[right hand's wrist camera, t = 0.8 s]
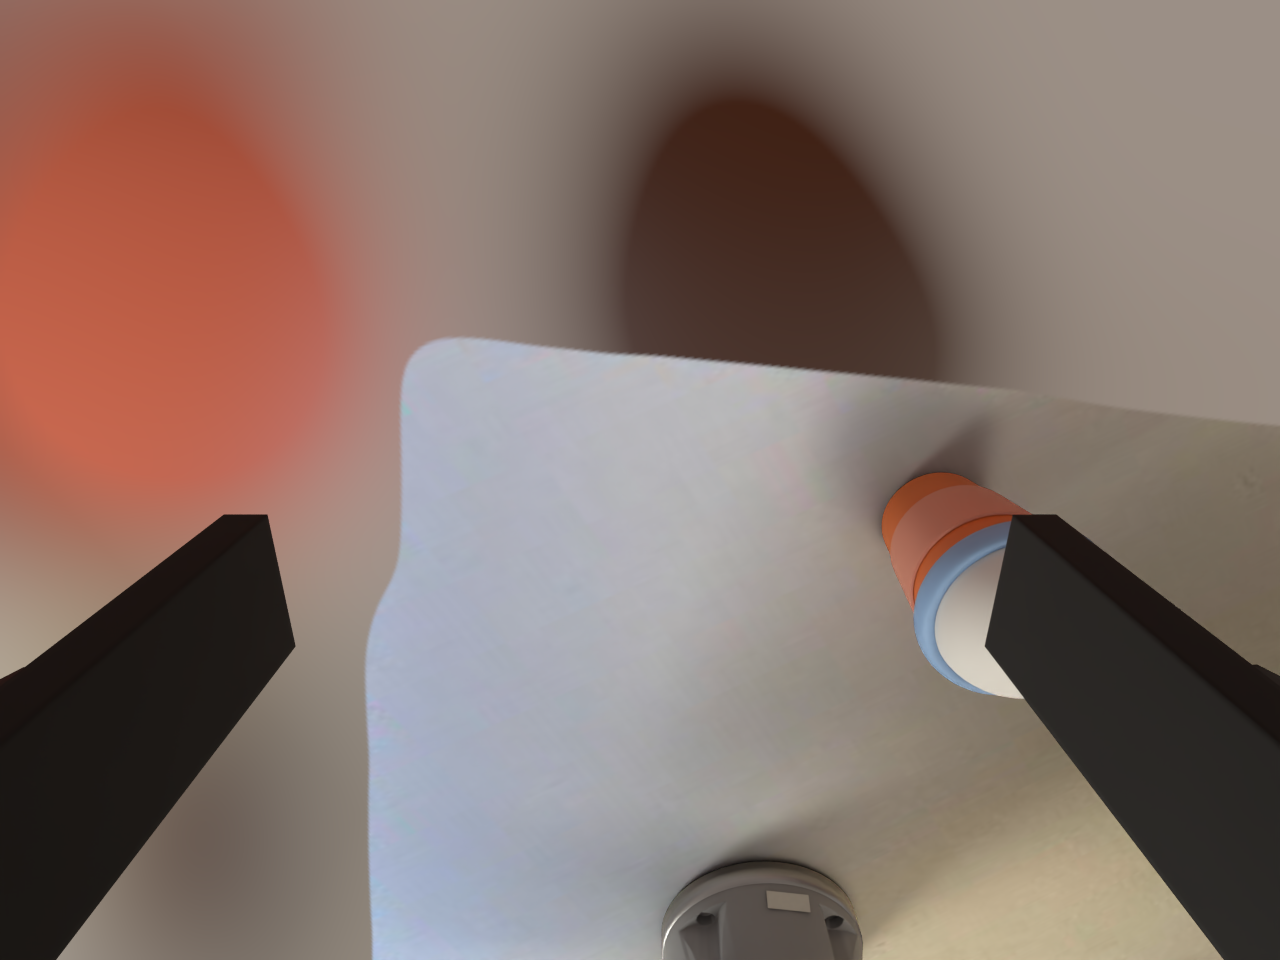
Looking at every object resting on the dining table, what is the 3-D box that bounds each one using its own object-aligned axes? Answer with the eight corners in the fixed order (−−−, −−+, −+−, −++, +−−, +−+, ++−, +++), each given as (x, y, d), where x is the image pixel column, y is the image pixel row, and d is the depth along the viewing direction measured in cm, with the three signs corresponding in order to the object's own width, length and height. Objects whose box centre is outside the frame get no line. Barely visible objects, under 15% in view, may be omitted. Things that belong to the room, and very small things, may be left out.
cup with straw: (1006, 431, 40) (1263, 600, 24) (1013, 568, 44) (1243, 801, 27) (846, 466, 41) (986, 654, 25) (865, 598, 45) (999, 842, 28)
